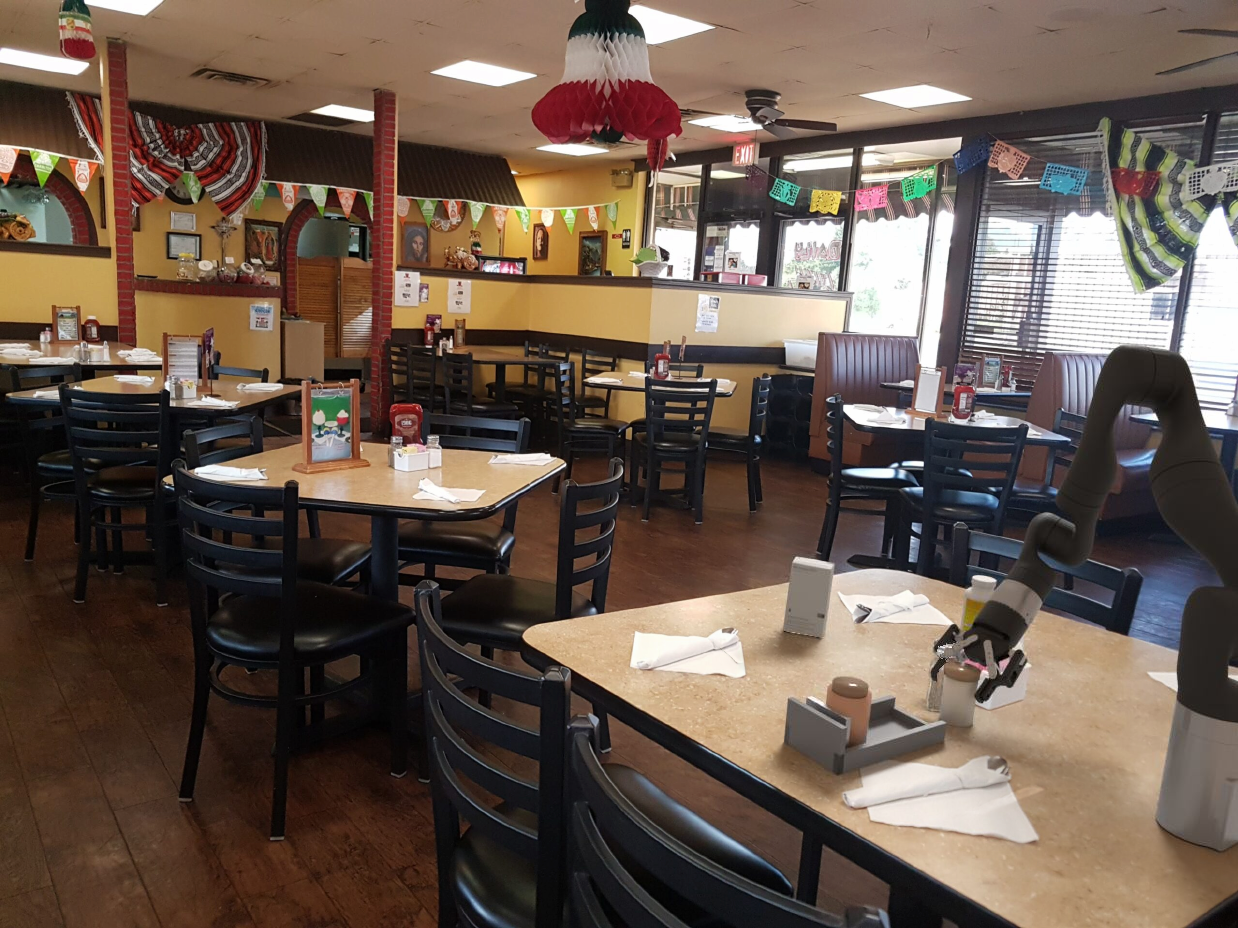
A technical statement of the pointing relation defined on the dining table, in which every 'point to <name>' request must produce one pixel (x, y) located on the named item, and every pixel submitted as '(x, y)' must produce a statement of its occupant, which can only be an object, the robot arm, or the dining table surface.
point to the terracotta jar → (852, 705)
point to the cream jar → (959, 693)
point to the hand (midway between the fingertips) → (955, 689)
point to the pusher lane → (885, 738)
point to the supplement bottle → (976, 599)
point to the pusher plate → (831, 714)
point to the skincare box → (808, 596)
